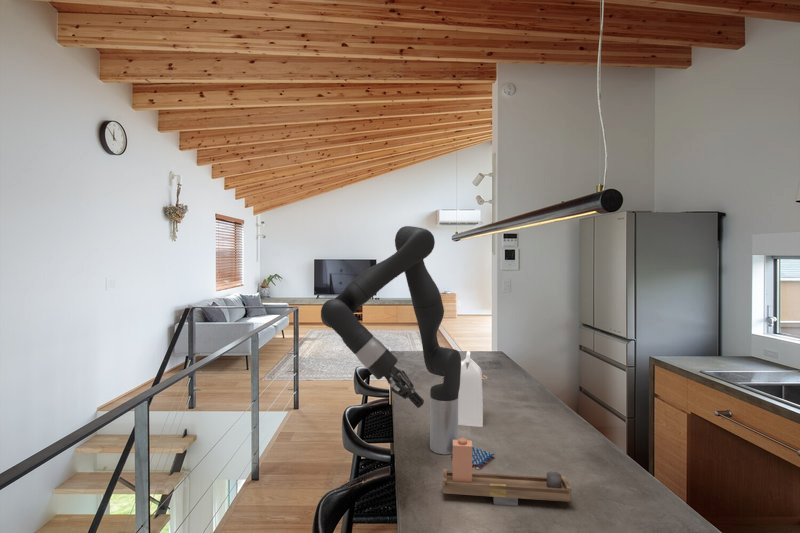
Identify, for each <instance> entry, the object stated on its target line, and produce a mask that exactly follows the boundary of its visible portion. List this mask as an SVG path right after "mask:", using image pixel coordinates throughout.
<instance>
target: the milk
mask: <svg viewBox="0 0 800 533" xmlns="http://www.w3.org/2000/svg"><path fill="white" fill-rule="evenodd" d="M465 355H466V356H465V358H464V359H463V360H461V375H460V388H459V393H458V426H467V427H468V426H469V427H479V428H483V426H484V406H483V405H484V404H483V401H484V399H483V370H482V368H481V366H479V365H478V363H476V362H475V361H474V360H473V359H472V358H471V350H470V351H469V350H467V351H466V354H465Z"/></svg>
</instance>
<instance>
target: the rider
mask: <svg viewBox="0 0 800 533" xmlns="http://www.w3.org/2000/svg"><path fill="white" fill-rule="evenodd" d="M472 447H473V442H472V440H469V439H467V438H466V437H460V436H459V437H458V440H453V453H452V455H453V458H452V459H453V460H452V471H453V475H452V477H453V482H468V483H472V473H473V467H472Z"/></svg>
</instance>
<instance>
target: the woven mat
mask: <svg viewBox="0 0 800 533" xmlns="http://www.w3.org/2000/svg"><path fill="white" fill-rule="evenodd" d="M450 458H451V461H453V454H451V456H450ZM494 459H495V453H492V452H491V451H490V452H489V451H487V450H483V449H480V448H478V447H474V446H472V469H476V470H480V469H482V468H483V467H484V466H486V465H488V463H489V462H490V461H492V460H494Z"/></svg>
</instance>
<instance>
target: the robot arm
mask: <svg viewBox="0 0 800 533" xmlns="http://www.w3.org/2000/svg"><path fill="white" fill-rule="evenodd" d="M435 242H436V241H435V237H434V235H433V233H432V232H431V231H430V230H428V229H427V228H423V227H419V226H414V225H413V226H412V225H405V226H401V227H400V228H399V229H398V230H397V232H396V234H395V238H394V245H395V246H394V247H395V250H396V251H395V253H393V254H392V255H390V256H388V257H387V258H386V259H384V260H382V261H380V262H378V263H376V264H374V265H372V266H370V267H368V268H367V269H365V270H364V271H362V272H361V273H359V275H357V276H356V277H355V278H354V279H353V280H352V281H350V283H348V284H347V285H346V287H345V288H344V290H343V291H341V293H339V294H338V295H337V296H336V297H335V298H331V299H328V300H326V301H325V302H324V304H322V306H321V310H320V319H321V321H322V323H323V325H325V326H326V327H328V328H331V329H332V330H333V331H334V332H335V333H336V334H337V335H338V336H339V337H340V338H341V340H342V341H343V342H342V343H344V345H346V347H347V348H348V349H349V350H350V351H351V352H352V353H353V354H354V355H355V357H356V358H357V359H358V361H359V362H360V363H361V364H362V365H363V366H364V367H365V368H366V369H367V370H368V372H369V373H371V375H373V377H374V378H375V379H376V380H381V379H383V378H385V379H386V381H387V384H388V385H389V386H390V387H391V388H390V390H391V392H393V393H394V394H396V395H398V396H400V397H401V398H403V399H404V400H406V399H409V401H410V402H411V403H413V405H415V407H416V408H417V409H419V408H421V407H422V406H423V405H424V402H425V401H424V398H422V396H420V395H419V394H418V392H417V391H416V389H415V388H414V387H415V386H414V383H413V382H412V381H411V379H410V378H409V377H408V375H407V373H406V372H405V371H404V370H401V369H399V368H397V367H396V366H395V365H396V364H397V363H398V359H397V357H396V356H395V355H394V354H393V353H392V352H391V351H390V350H389V349H388V348H387V347H386V346H385V345H384V343H383V342H381V341H380V340H379V339H378V338H376V337H375V336H374V335H373V333H371V331H369V329H367V327H366V326H364V325H363V324H362V323H361V321H359V319H358V317H356V314H355V312H357V311H358V309H359V308H360V307H361V306H364V304H366V303H367V302H368V301H369V300H371V298H373V297H374V296H375V295H376V294H377V293H379V291H381V290H382V289H383V288H384V287H385V286H387V284H389V283H390V282H392V281H394V280H395V279H396V278H398V277H399V276H400V275H401V274H403V273H404V275H405V278H406V283H407V286H408V290H409V293H410V298H411V303H412V308H413V311H414V314H415V318H416V322H417V326H418V330H419V335H420V339H421V340H420V341H421V344H422V345H421V346H422V347H421V348H422V354H423V360H424V364H425V368H426V370H427V372H428V373H430V374H431V375H435V376H439V377H443V380H442V381H443V382H442V383H438V384H434V385H432V386H431V388H430V392H429V393H430V394H429V395H430V396H429V400H430V401H429V412H430V413H429V415H430V416H429V419H430V420H429V449H430V450H431V451H432V452H433V453H435V454H439V455H453V440H458V438H459V425H458V393H459V388H460V375H461V361H462V357H461V353H460V351H458V350H457V349H455V348H449V347H443V346H440V344H439V341H438V330H439V328H440V325H441V323H442V322H443V319H444V315H445V309H444V303H443V299H442V298H443V297H442V295H441V292H440V289H439V287H438V286H437V284H436V283H435V281H434V279H433V278H432V276H431V274H430V272H429V271H428V269H427V267H426V265H425V260H424V259H426V258H427V257H428V256H430V255H431V253H432V252H433V250H434V248H435V245H436V244H435Z"/></svg>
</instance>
